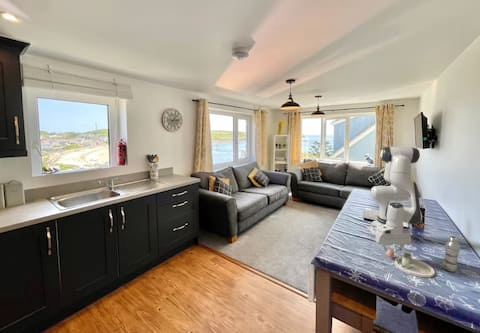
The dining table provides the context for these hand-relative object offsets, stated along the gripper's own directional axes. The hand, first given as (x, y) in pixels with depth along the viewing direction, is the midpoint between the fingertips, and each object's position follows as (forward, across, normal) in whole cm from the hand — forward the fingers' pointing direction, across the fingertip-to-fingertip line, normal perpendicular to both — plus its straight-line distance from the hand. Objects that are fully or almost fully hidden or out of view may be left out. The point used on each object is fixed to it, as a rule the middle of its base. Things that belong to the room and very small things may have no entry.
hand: (392, 250), depth 139 cm
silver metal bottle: (+6, -26, +11) cm, 29 cm away
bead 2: (+5, -6, +5) cm, 9 cm away
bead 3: (+5, -1, +10) cm, 12 cm away
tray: (+6, -6, +10) cm, 13 cm away
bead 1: (+6, 0, -1) cm, 6 cm away
